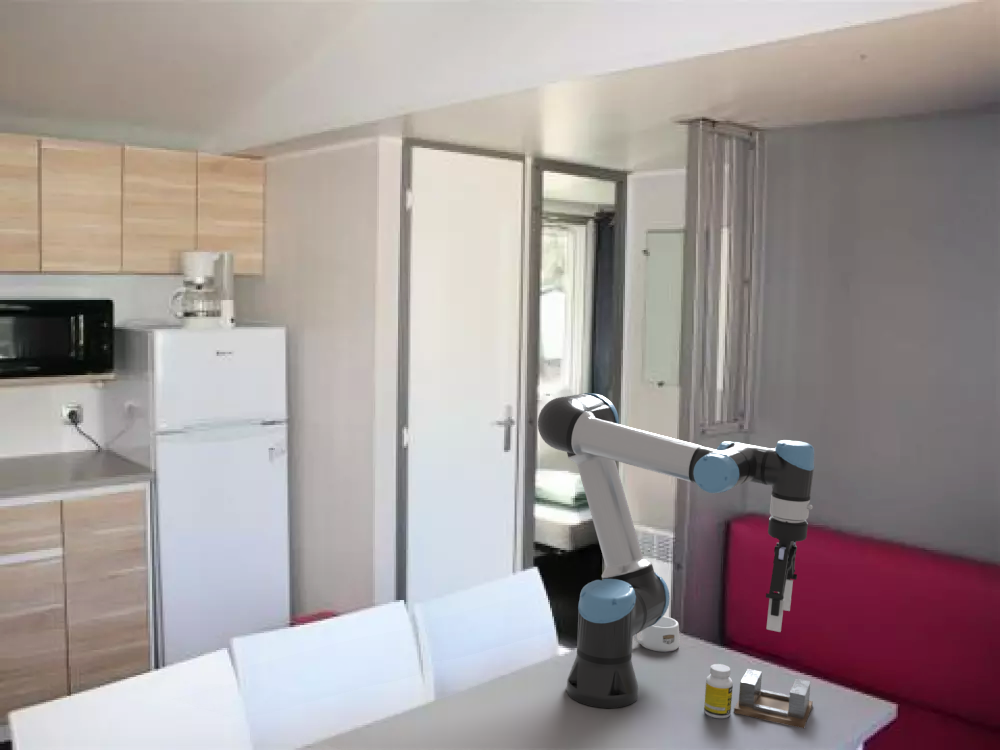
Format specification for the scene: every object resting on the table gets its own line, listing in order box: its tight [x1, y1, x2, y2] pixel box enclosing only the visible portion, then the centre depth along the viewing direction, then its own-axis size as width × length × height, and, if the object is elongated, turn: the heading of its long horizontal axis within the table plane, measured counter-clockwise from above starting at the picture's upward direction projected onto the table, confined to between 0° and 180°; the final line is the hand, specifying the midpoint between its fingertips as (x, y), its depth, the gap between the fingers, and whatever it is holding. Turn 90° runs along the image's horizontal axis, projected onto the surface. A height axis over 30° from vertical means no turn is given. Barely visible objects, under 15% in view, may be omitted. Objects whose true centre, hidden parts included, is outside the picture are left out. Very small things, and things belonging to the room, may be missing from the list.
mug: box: [633, 615, 681, 653], centre depth 237 cm, size 12×10×6 cm
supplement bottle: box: [703, 663, 734, 719], centre depth 200 cm, size 5×5×10 cm
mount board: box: [733, 693, 813, 729], centre depth 204 cm, size 14×12×1 cm
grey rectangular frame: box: [738, 668, 812, 719], centre depth 203 cm, size 13×9×5 cm
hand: (778, 619), depth 199 cm, fingers open, 13 cm apart
